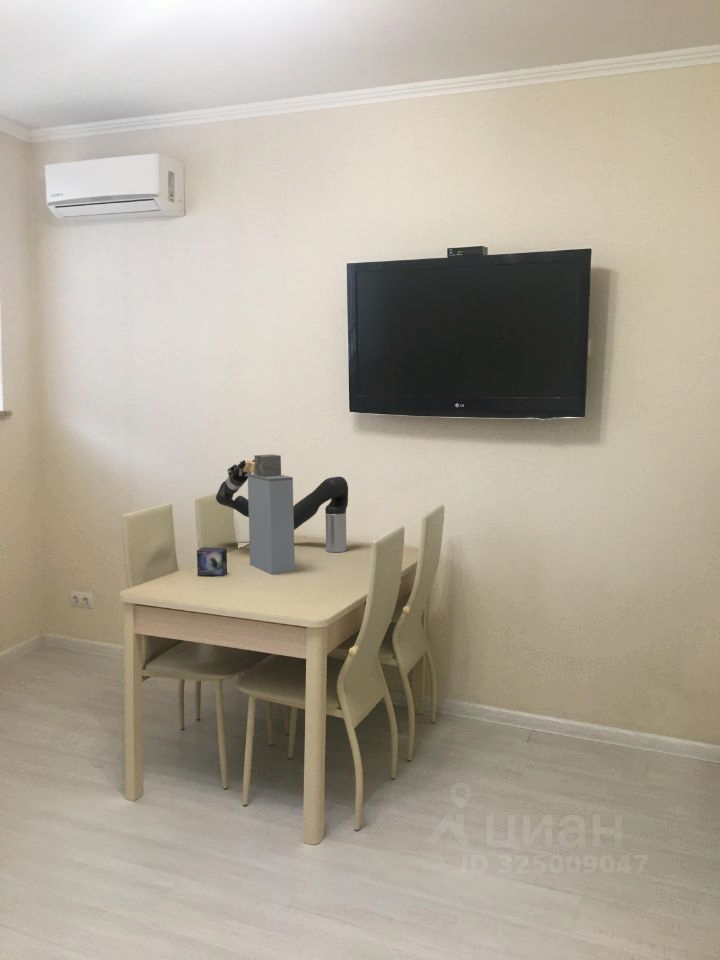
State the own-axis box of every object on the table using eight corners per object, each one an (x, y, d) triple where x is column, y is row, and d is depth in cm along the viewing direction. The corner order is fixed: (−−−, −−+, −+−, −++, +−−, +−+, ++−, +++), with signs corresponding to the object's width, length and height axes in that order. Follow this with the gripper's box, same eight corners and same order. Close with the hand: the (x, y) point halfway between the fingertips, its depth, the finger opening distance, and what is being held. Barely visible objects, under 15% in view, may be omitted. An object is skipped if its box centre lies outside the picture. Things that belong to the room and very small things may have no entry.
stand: (250, 564, 340) (247, 474, 335) (272, 561, 345) (269, 472, 340) (271, 574, 321) (269, 479, 317) (294, 571, 326) (292, 477, 322)
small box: (196, 576, 320) (195, 550, 319) (202, 572, 327) (201, 546, 325) (222, 577, 318) (221, 550, 317) (228, 573, 325) (227, 547, 323)
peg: (235, 470, 349) (234, 452, 349) (252, 469, 354) (252, 451, 353) (262, 476, 325) (262, 456, 324) (281, 475, 329) (280, 455, 328)
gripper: (253, 485, 362) (267, 468, 348) (223, 487, 355) (235, 470, 341) (250, 470, 364) (263, 453, 350) (219, 471, 357) (232, 454, 343)
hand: (249, 462), depth 346 cm, fingers closed on peg, 4 cm apart
